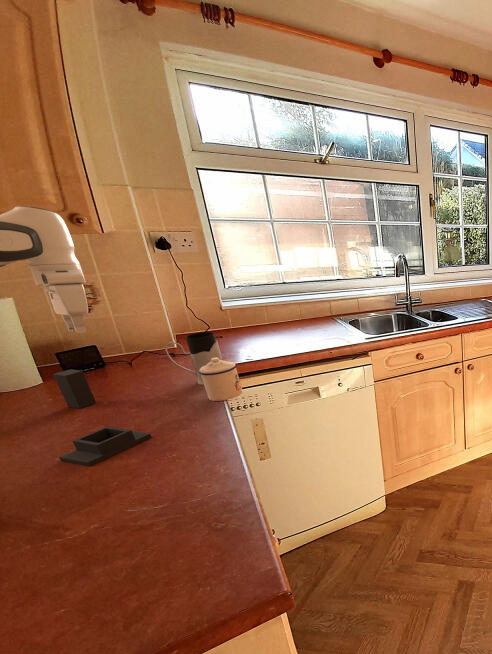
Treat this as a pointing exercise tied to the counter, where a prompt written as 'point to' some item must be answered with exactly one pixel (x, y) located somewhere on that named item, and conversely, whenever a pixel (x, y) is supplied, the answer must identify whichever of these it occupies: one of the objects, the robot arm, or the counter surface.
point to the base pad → (103, 445)
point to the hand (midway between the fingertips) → (77, 332)
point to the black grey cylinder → (200, 351)
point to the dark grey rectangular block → (75, 388)
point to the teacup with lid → (221, 380)
